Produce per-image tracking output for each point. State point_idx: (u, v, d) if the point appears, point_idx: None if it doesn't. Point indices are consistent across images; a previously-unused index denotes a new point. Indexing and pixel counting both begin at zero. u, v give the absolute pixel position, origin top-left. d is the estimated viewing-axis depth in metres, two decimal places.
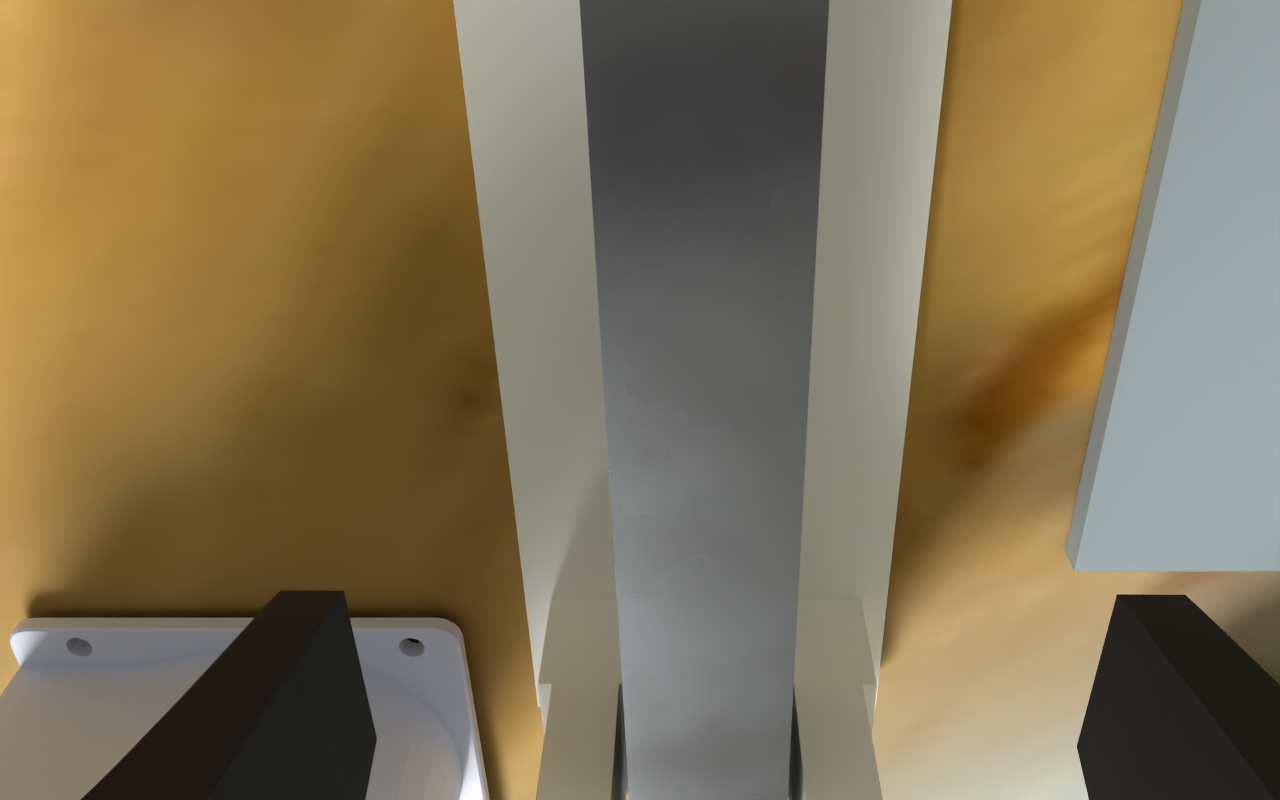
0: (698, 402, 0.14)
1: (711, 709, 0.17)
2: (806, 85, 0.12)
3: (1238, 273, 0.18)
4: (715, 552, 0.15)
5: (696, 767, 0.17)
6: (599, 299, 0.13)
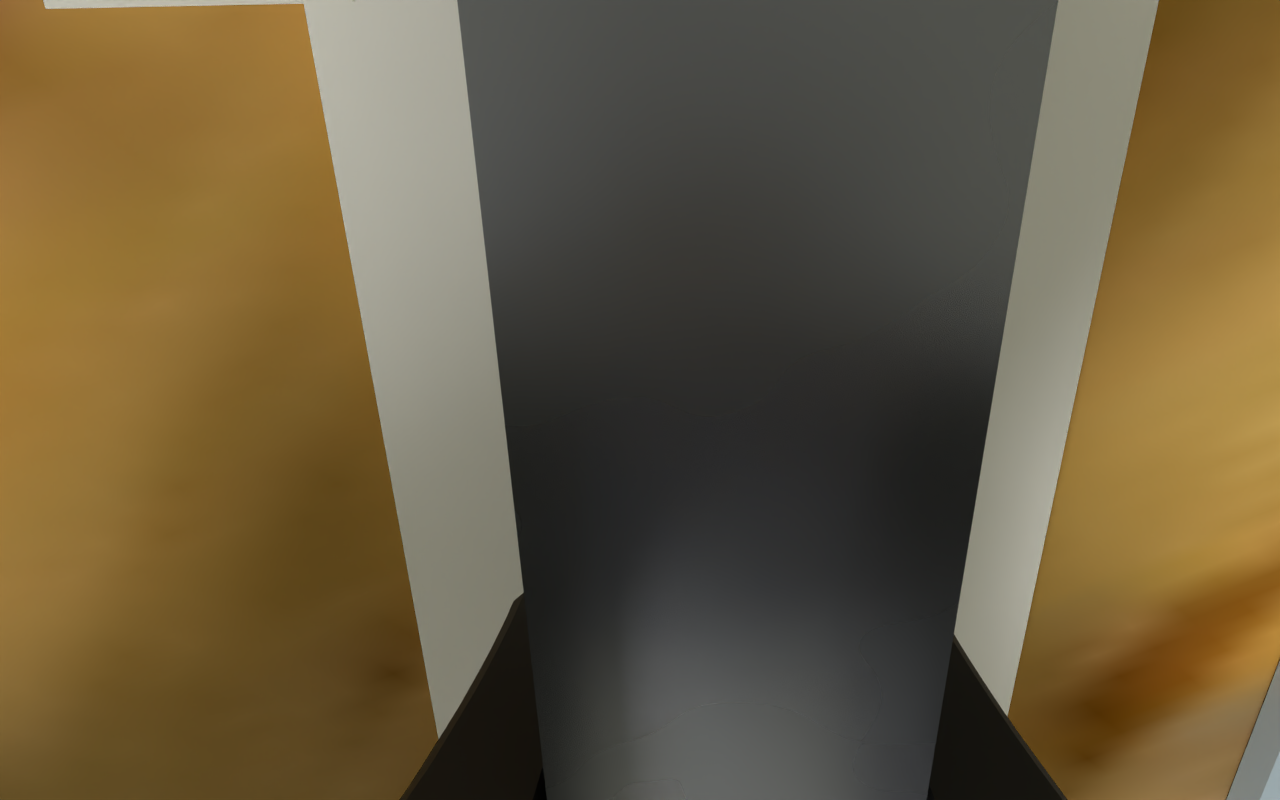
0: None
1: None
2: (943, 474, 0.06)
3: None
4: None
5: None
6: (546, 773, 0.07)
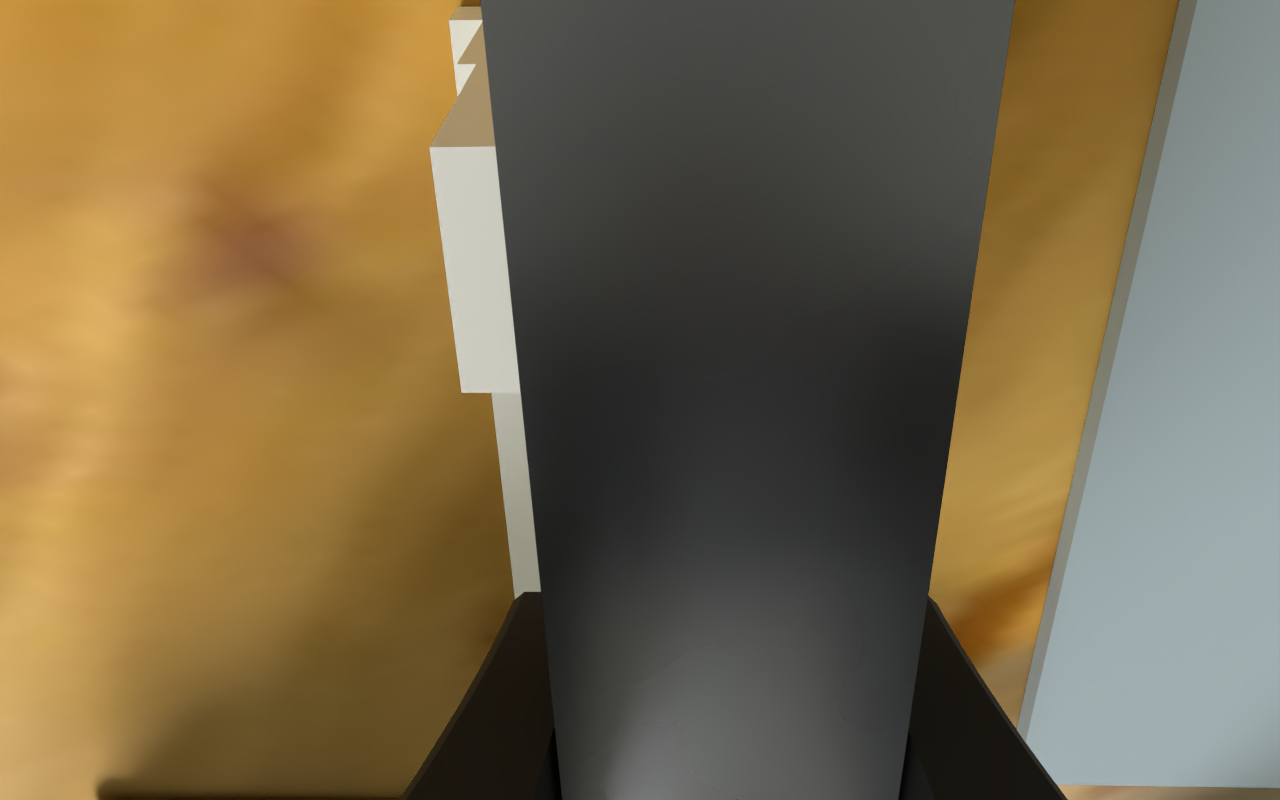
0: None
1: None
2: (918, 431, 0.07)
3: (1149, 566, 0.21)
4: None
5: None
6: (556, 714, 0.08)
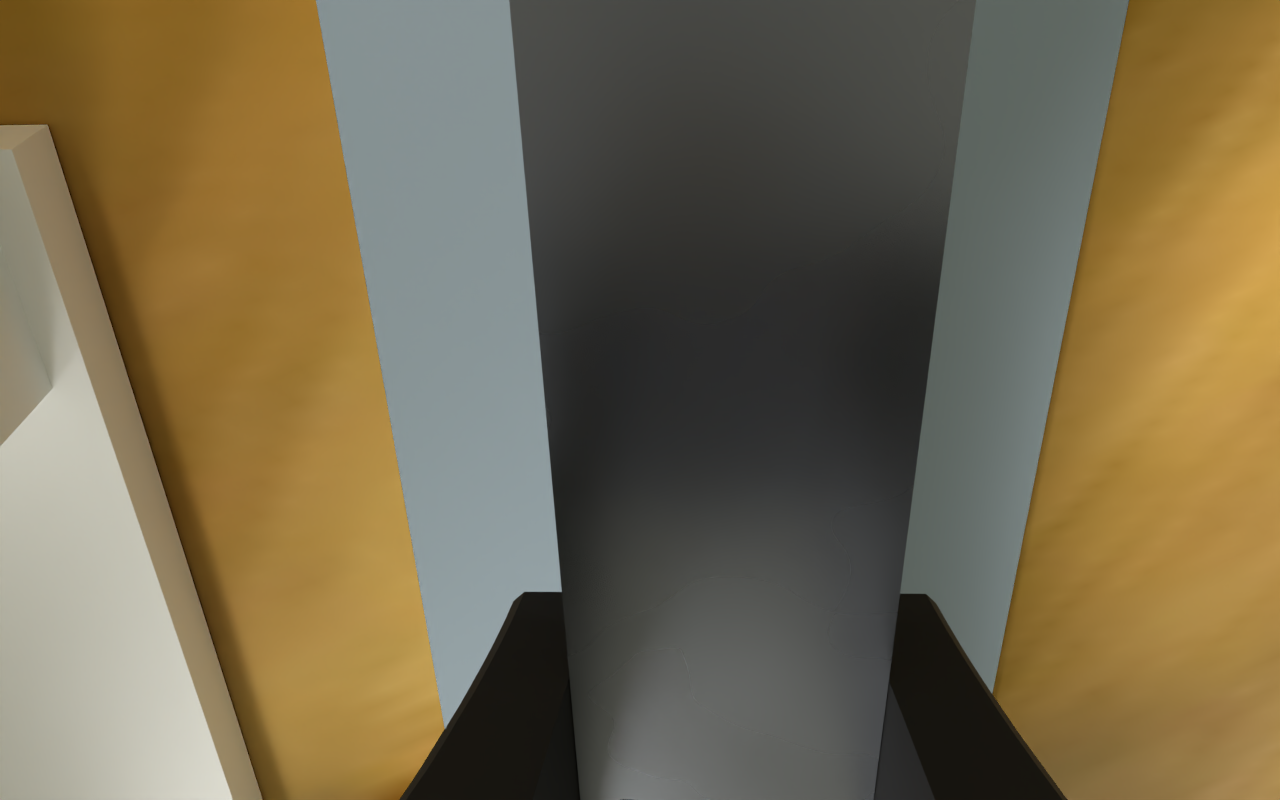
0: (715, 771, 0.09)
1: None
2: (898, 373, 0.07)
3: None
4: None
5: None
6: (568, 644, 0.09)
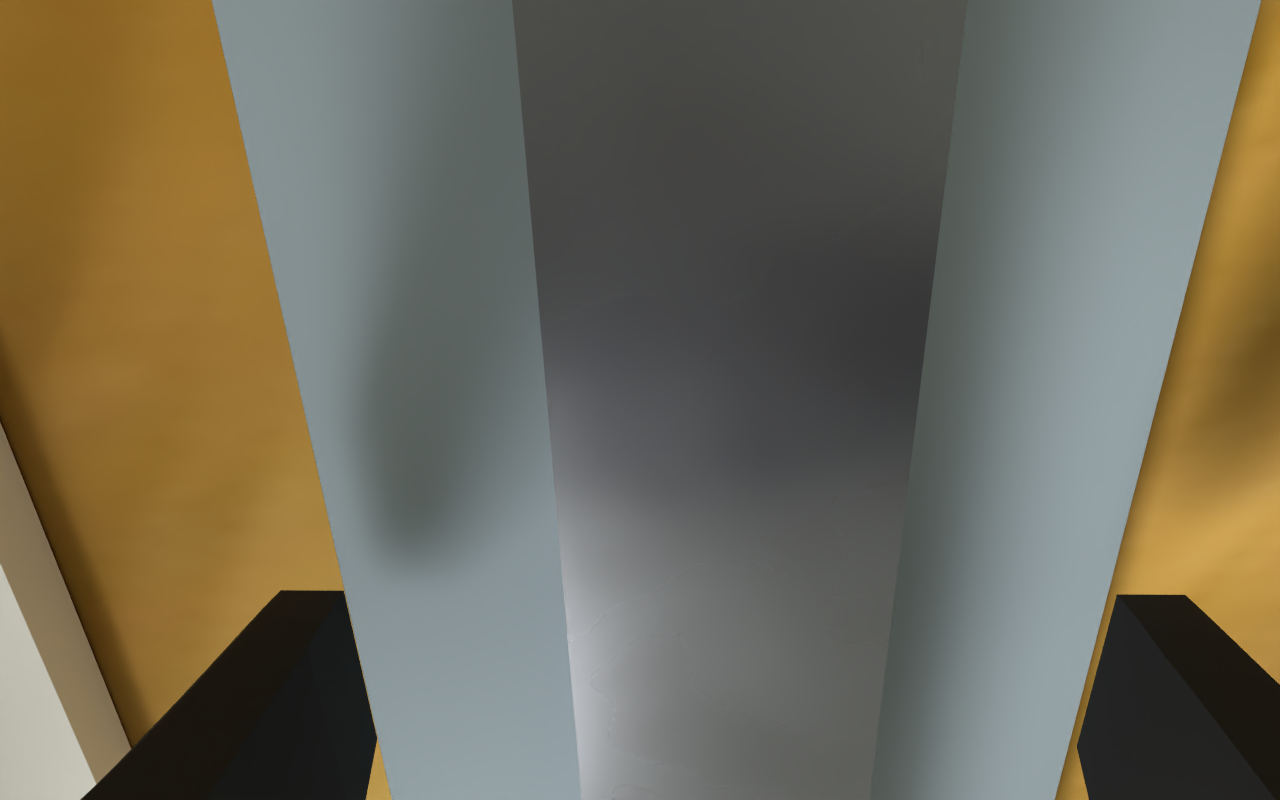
0: (713, 757, 0.10)
1: None
2: (894, 358, 0.07)
3: None
4: None
5: None
6: (568, 629, 0.09)
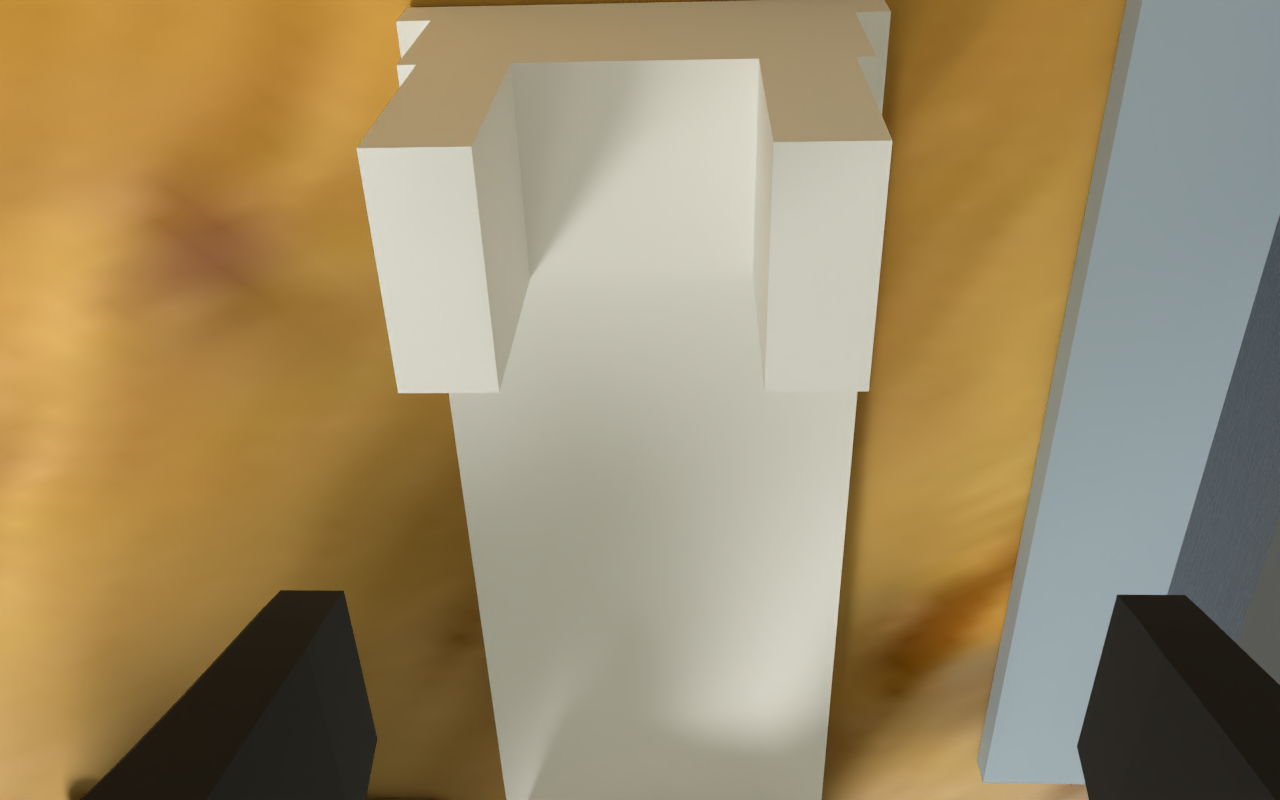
0: None
1: None
2: None
3: (1110, 565, 0.21)
4: None
5: None
6: None
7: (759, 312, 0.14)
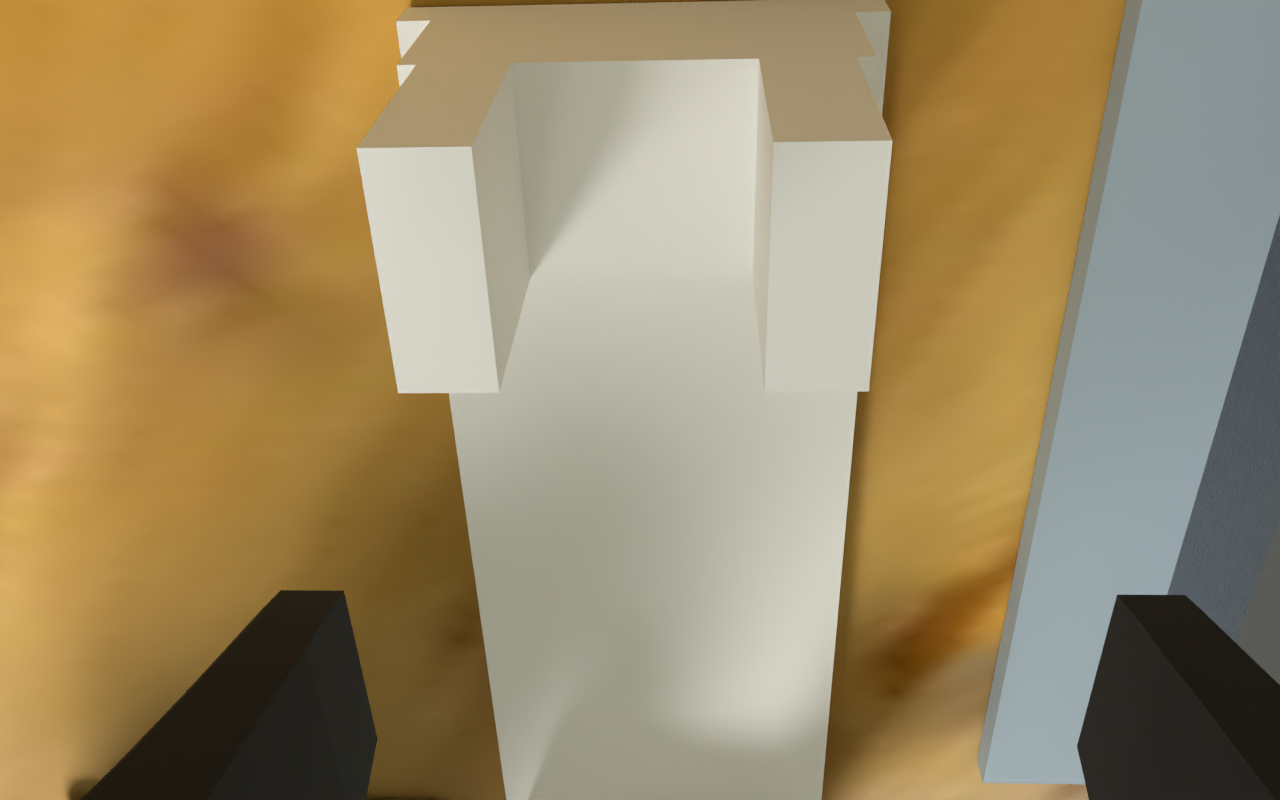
0: None
1: None
2: None
3: (1110, 565, 0.21)
4: None
5: None
6: None
7: (759, 312, 0.14)
